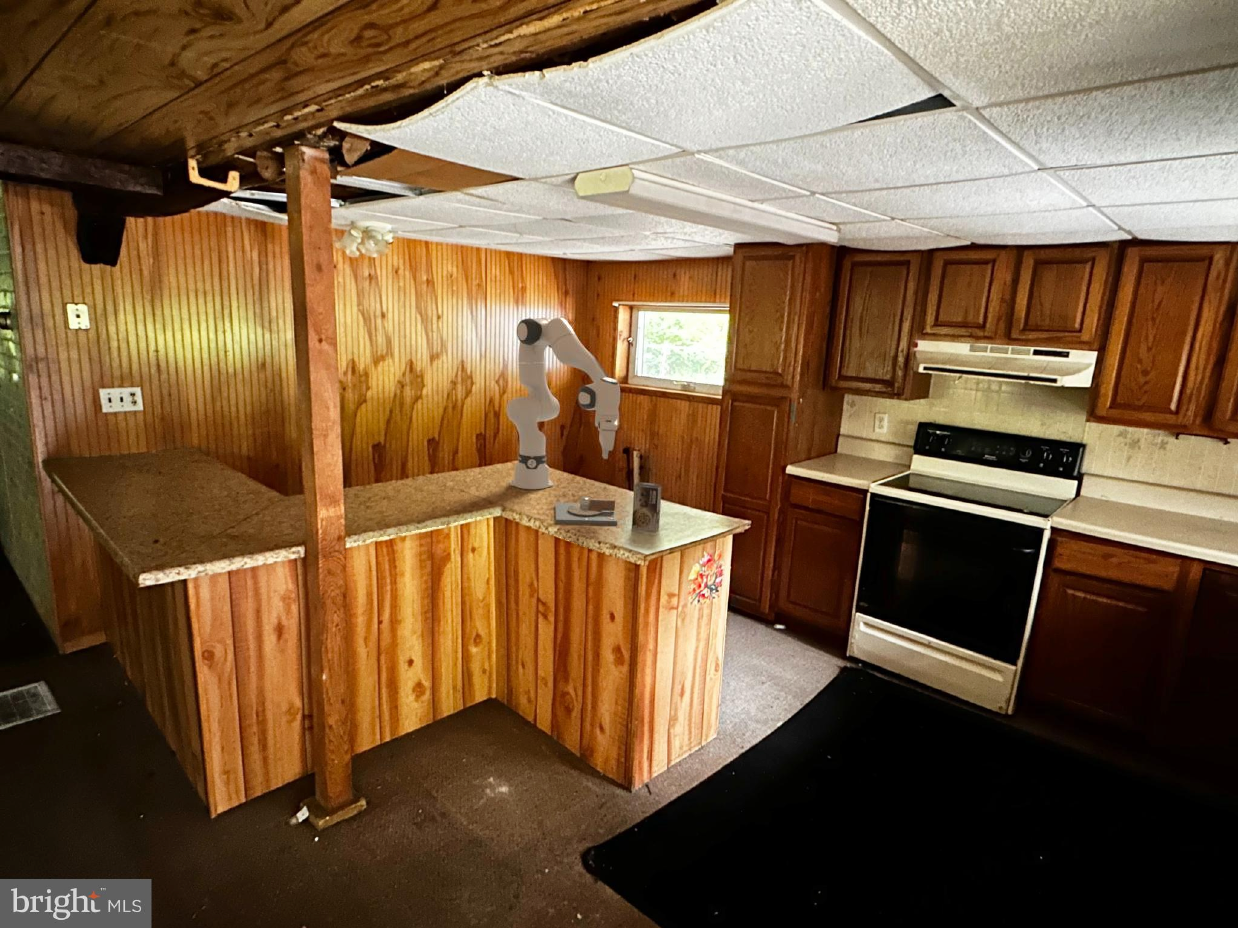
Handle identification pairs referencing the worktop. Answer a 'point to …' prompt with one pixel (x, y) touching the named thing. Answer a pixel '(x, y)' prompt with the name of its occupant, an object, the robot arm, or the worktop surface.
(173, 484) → the worktop surface
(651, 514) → the coffee box
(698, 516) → the worktop surface
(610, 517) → the dial plate
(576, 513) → the dial
